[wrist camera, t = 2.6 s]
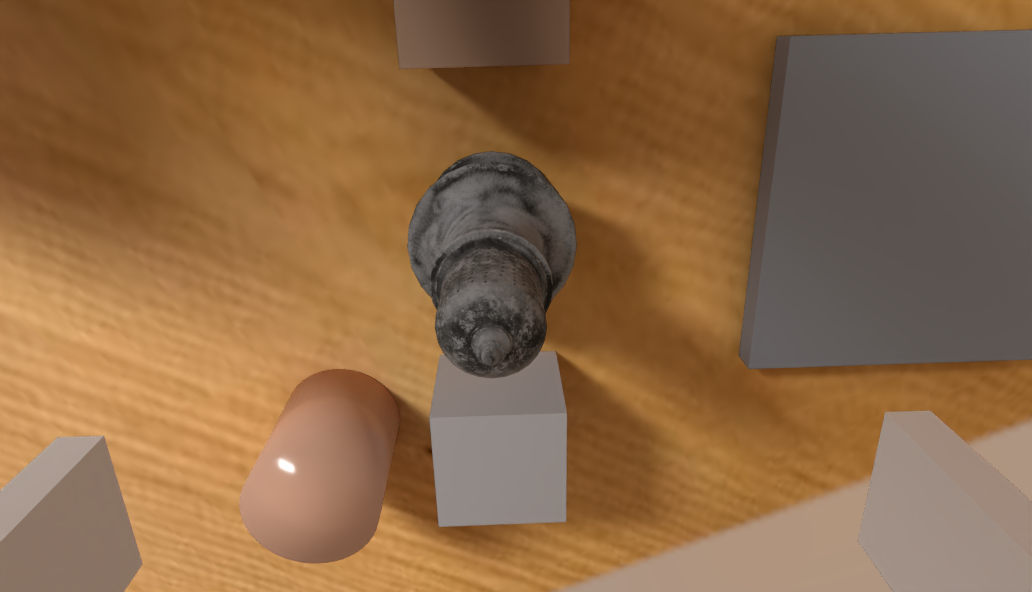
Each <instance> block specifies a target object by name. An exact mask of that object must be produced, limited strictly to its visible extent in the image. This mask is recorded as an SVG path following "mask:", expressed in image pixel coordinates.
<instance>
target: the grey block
mask: <svg viewBox="0 0 1032 592" xmlns="http://www.w3.org/2000/svg"><path fill="white" fill-rule="evenodd" d="M429 419H430V431H431V443H432V454H433V466H434V478H435V489H436V501H437V513H438V524H439V527H446V526H473V525H499V524H526V523H552V522H566V479H567V410H566V405H565V399H564V394H563V388H562V383H561V377H560V372H559V366H558V361H557V355H556V351H540V352H539V354H538V356H537V357H536V358H535V359H534V360H533V361H532V363H531V364H530V365H528V366H527V367H526V368H524V369H523V370H521V371H520V372H518V373H515V374H512V375H509V376H507V377H500V378H483V377H477V376H474V375H471V374H468V373H465V372H464V371H462V370H461V369H459V368H457V367H456V366H454V365H453V364H452V363H451V362H450V361H449V360H448V358H447V357H446V356H445V355H440V357H439V363H438V369H437V375H436V381H435V387H434V393H433V399H432V405H431V411H430V417H429Z"/></svg>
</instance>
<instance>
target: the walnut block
mask: <svg viewBox="0 0 1032 592" xmlns="http://www.w3.org/2000/svg"><path fill="white" fill-rule="evenodd" d="M393 2H394V13H395V25H396V36H397V47H398V59H399V69H413V68H448V67H484V66H520V65H556V64H570V0H393Z"/></svg>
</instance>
